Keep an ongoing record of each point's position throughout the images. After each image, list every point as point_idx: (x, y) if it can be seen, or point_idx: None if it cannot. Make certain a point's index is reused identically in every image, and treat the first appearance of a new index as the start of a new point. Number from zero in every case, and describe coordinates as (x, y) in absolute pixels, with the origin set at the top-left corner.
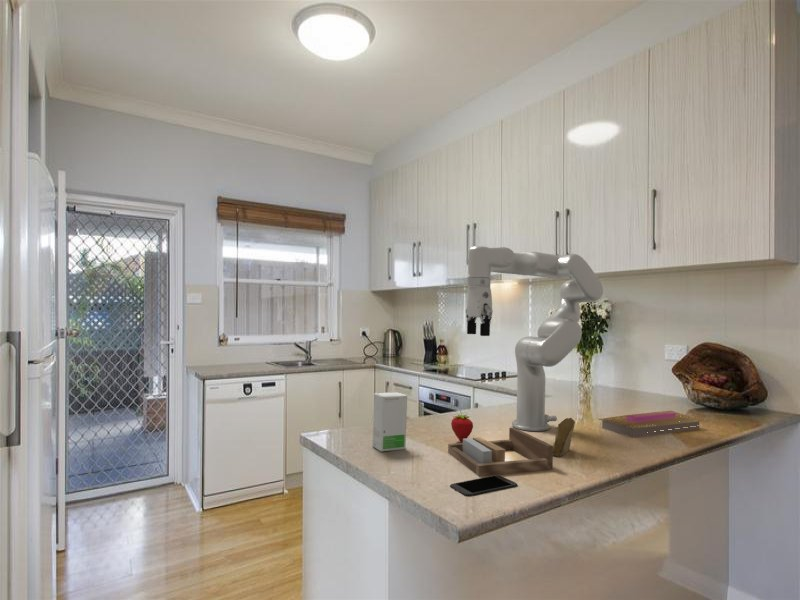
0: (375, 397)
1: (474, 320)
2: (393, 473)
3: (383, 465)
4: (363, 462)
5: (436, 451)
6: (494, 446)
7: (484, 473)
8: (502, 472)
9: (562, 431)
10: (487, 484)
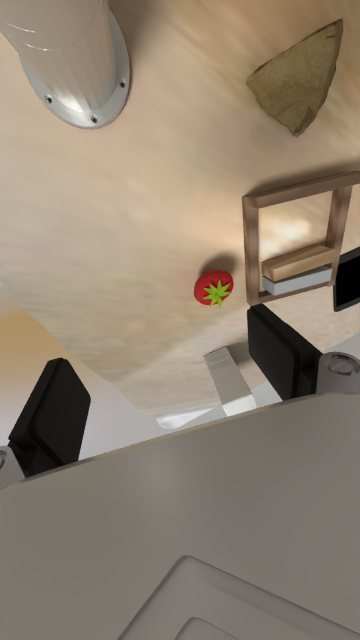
0: None
1: (24, 469)
2: None
3: None
4: (258, 377)
5: (239, 314)
6: (317, 260)
7: None
8: None
9: (326, 89)
10: (351, 278)
